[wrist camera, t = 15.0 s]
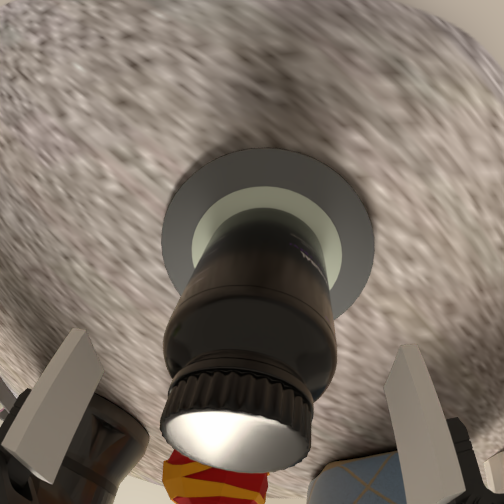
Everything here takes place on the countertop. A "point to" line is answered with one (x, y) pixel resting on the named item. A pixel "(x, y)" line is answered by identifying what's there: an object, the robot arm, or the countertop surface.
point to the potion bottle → (210, 483)
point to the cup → (495, 473)
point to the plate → (279, 197)
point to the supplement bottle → (250, 346)
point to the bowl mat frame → (5, 400)
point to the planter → (360, 481)
